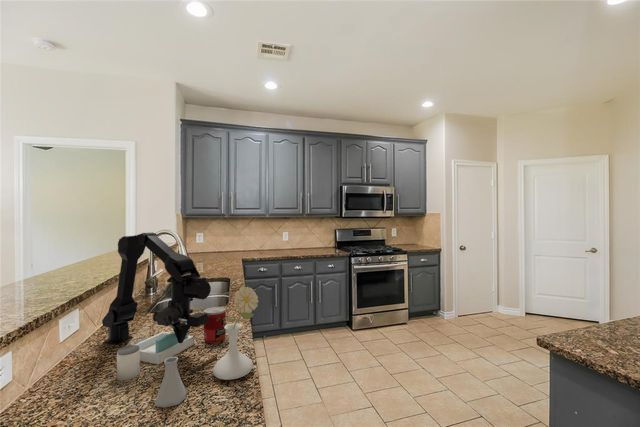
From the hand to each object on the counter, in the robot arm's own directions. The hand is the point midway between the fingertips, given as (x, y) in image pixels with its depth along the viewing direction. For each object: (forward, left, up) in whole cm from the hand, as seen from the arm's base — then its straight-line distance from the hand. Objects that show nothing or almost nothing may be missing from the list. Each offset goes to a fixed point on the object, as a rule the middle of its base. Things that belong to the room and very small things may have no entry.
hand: (180, 342), depth 98 cm
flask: (+17, -20, -4) cm, 26 cm away
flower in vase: (+25, -4, -4) cm, 25 cm away
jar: (-4, -15, -4) cm, 16 cm away
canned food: (+3, +14, -4) cm, 15 cm away
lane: (-10, 0, -4) cm, 11 cm away
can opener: (+13, -3, -4) cm, 14 cm away
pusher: (-3, 0, -3) cm, 5 cm away
